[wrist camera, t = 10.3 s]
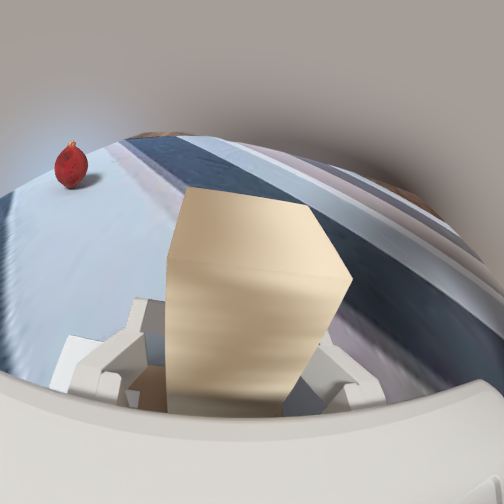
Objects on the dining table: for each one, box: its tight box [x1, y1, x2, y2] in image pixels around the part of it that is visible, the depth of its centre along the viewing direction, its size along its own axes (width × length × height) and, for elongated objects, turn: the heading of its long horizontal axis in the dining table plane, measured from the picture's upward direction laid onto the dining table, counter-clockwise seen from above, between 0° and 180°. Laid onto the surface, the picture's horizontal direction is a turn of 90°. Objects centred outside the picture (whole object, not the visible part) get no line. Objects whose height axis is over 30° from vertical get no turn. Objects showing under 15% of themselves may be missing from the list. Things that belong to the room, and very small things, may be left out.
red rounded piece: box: [55, 141, 88, 189], centre depth 38 cm, size 6×6×8 cm
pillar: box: [165, 187, 353, 418], centre depth 10 cm, size 4×4×10 cm
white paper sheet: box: [49, 335, 143, 409], centre depth 17 cm, size 8×5×1 cm, turn 96°
